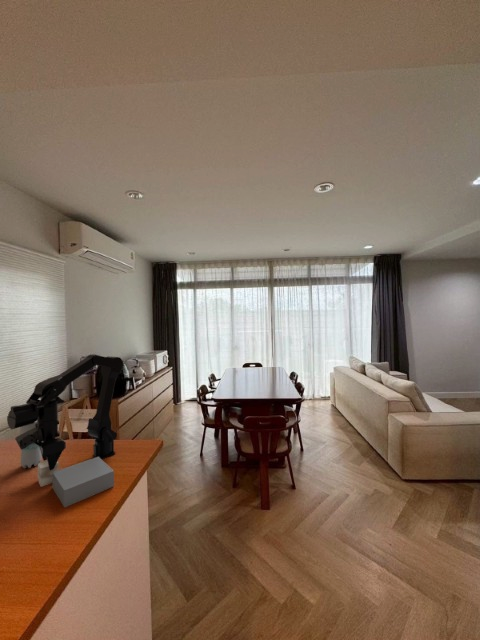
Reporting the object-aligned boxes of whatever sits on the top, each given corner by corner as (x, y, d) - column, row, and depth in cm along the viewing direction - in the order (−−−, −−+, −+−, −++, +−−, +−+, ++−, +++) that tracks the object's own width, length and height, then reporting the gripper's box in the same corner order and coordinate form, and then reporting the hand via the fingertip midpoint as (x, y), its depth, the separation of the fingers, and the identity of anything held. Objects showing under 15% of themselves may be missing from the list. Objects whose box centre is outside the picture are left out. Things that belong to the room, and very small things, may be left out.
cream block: (55, 474, 96) (54, 457, 97) (58, 480, 93) (58, 462, 93) (37, 481, 93) (37, 463, 93) (40, 487, 89) (40, 468, 89)
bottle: (46, 462, 105) (45, 410, 105) (28, 471, 99) (27, 415, 99) (34, 459, 108) (33, 408, 108) (15, 468, 101) (14, 414, 101)
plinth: (98, 470, 99) (98, 456, 99) (114, 486, 89) (113, 470, 89) (52, 487, 89) (52, 472, 89) (64, 507, 79) (64, 490, 79)
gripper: (13, 418, 94) (13, 464, 94) (22, 433, 81) (23, 486, 81) (51, 410, 102) (52, 452, 102) (65, 423, 89) (66, 471, 89)
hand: (48, 464), depth 93 cm, fingers open, 9 cm apart
